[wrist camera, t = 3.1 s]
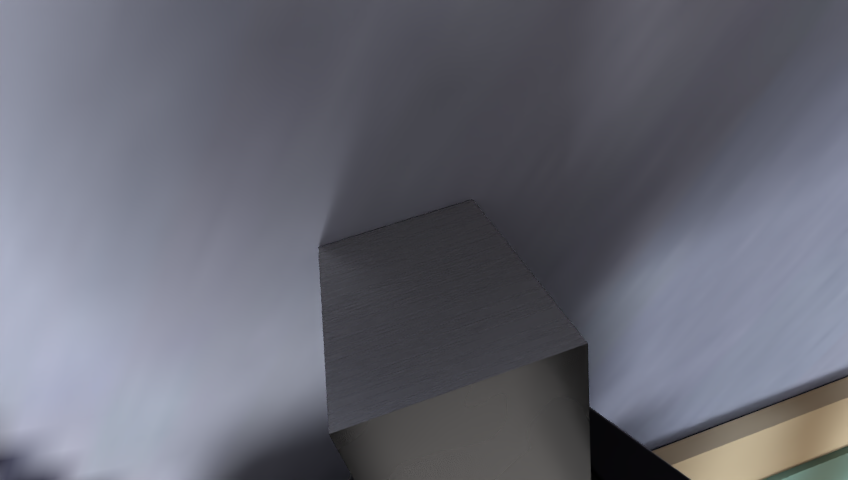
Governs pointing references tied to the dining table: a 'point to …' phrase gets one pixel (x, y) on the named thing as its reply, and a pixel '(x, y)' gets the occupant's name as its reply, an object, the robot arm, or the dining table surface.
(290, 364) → the dining table surface
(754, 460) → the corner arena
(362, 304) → the angle bracket
